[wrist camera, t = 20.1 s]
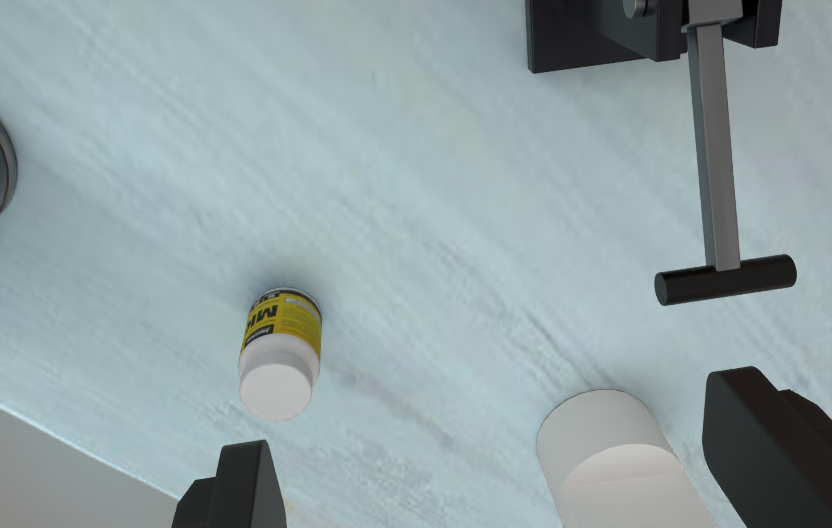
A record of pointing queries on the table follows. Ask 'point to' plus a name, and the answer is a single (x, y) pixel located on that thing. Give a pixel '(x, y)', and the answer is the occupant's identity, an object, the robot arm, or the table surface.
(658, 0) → the lever bracket
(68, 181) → the table surface
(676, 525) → the cylinder with rectangular tab
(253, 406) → the supplement bottle
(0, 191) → the robot arm
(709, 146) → the lever
